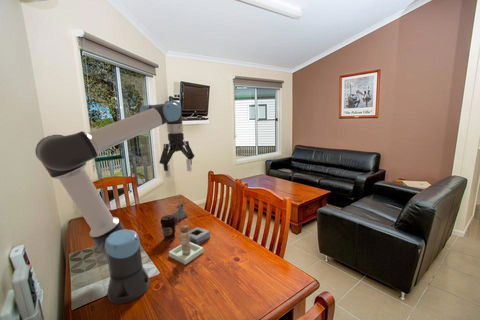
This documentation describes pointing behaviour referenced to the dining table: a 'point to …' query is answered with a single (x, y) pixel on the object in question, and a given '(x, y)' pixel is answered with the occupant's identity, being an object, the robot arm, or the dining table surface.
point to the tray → (184, 259)
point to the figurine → (180, 212)
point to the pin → (185, 240)
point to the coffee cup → (168, 227)
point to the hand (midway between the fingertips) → (179, 174)
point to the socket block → (198, 235)
